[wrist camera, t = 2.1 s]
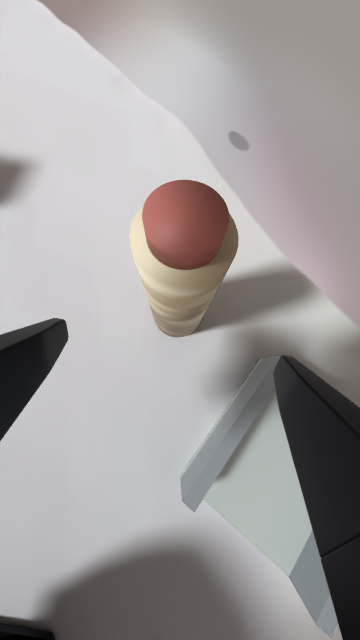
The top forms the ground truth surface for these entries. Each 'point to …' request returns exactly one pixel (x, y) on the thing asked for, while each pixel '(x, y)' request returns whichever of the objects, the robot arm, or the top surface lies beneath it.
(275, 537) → the tray
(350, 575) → the robot arm
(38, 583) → the top surface
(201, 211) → the red-capped cream cylinder
